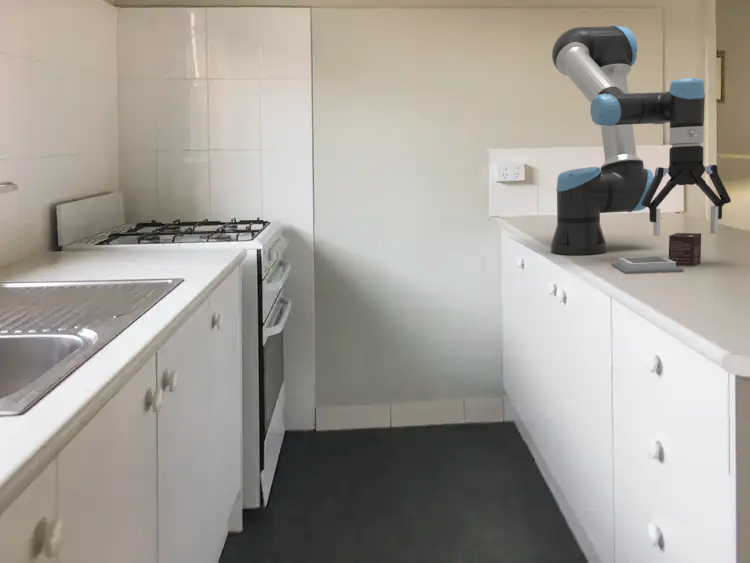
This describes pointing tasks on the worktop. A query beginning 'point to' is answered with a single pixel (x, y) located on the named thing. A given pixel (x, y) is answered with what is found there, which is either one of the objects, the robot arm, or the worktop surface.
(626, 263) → the grey and white frame
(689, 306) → the worktop surface
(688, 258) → the box
